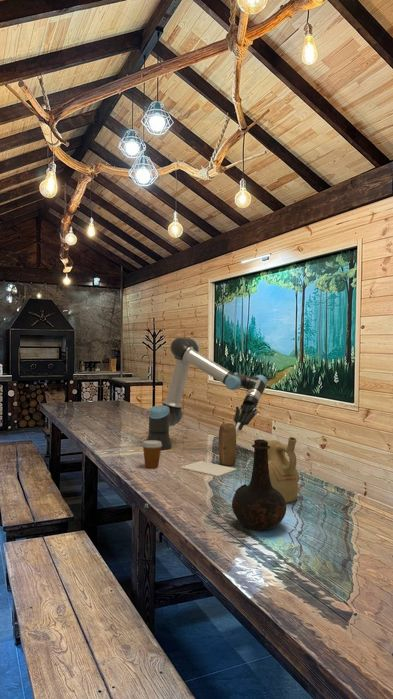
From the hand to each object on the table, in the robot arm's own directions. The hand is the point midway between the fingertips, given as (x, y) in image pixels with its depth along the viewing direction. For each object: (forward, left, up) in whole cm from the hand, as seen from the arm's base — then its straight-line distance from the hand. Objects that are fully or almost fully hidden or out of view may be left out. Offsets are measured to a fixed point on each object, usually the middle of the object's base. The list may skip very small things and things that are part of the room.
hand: (235, 434), depth 232 cm
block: (0, -7, -14) cm, 16 cm away
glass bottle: (+51, -66, -14) cm, 85 cm away
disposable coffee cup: (-24, -36, -14) cm, 46 cm away
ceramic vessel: (+44, -37, -14) cm, 59 cm away
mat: (-1, -21, -14) cm, 26 cm away
